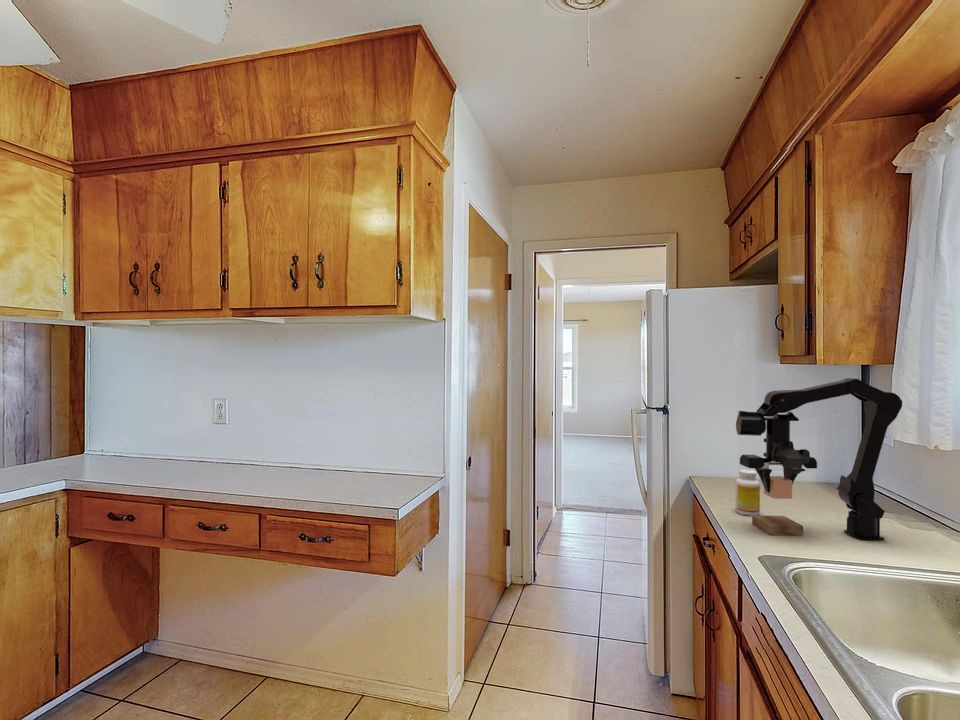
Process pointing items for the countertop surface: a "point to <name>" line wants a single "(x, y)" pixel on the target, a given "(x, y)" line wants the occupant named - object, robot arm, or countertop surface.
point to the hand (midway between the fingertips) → (777, 492)
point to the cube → (780, 488)
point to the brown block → (777, 525)
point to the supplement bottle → (747, 493)
